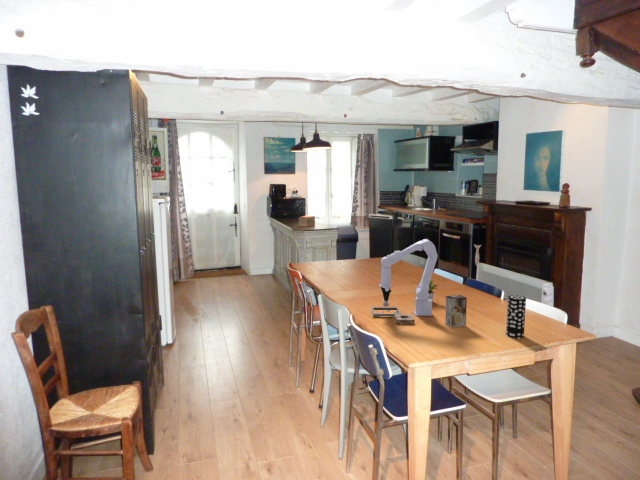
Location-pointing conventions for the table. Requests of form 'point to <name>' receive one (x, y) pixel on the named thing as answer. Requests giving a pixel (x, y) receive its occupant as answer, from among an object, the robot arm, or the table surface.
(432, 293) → the house plant
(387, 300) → the robot arm
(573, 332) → the table surface
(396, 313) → the tray
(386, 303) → the pin
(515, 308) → the white-spotted black cylinder
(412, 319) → the pin block
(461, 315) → the coffee box
